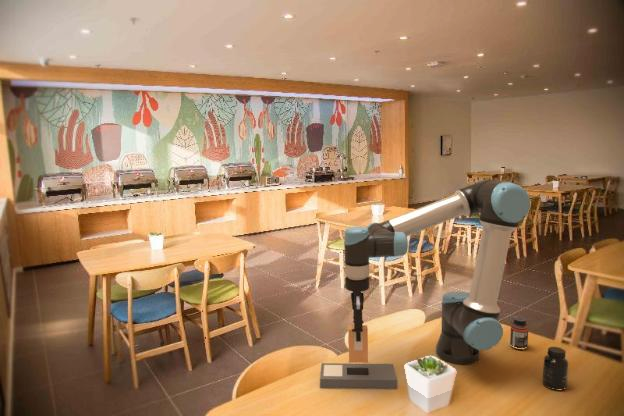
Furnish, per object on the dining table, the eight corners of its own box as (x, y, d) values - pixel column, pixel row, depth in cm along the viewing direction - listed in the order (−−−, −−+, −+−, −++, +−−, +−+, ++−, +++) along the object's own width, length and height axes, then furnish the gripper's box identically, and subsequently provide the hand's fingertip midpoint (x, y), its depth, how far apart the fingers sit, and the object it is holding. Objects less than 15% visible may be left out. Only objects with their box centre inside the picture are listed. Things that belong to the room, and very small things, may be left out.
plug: (367, 357, 145) (366, 325, 143) (368, 362, 141) (367, 330, 140) (348, 357, 145) (348, 325, 144) (349, 362, 142) (348, 330, 140)
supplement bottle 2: (570, 392, 136) (572, 356, 135) (546, 390, 138) (548, 354, 136) (562, 380, 143) (564, 345, 141) (539, 378, 144) (541, 344, 143)
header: (393, 375, 149) (393, 363, 148) (396, 391, 139) (397, 379, 138) (321, 374, 150) (321, 362, 150) (320, 390, 140) (320, 378, 140)
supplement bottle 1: (511, 342, 170) (513, 314, 168) (528, 346, 167) (530, 317, 165) (508, 348, 165) (509, 319, 164) (525, 352, 162) (527, 323, 160)
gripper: (344, 268, 147) (346, 335, 151) (345, 285, 131) (346, 359, 135) (367, 268, 147) (368, 335, 151) (370, 285, 131) (371, 359, 134)
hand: (358, 346), depth 143 cm, fingers closed on plug, 3 cm apart
